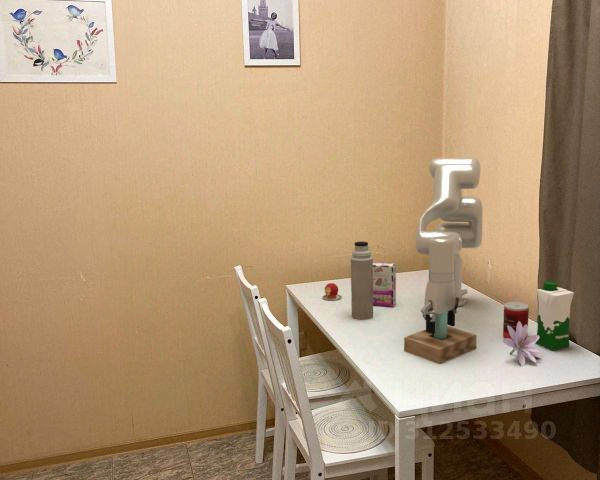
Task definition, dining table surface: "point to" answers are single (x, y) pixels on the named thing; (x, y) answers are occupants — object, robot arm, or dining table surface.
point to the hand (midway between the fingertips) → (440, 329)
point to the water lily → (522, 343)
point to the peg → (441, 326)
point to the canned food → (514, 316)
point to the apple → (331, 292)
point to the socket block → (440, 344)
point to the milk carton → (553, 316)
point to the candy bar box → (384, 284)
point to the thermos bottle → (362, 282)
